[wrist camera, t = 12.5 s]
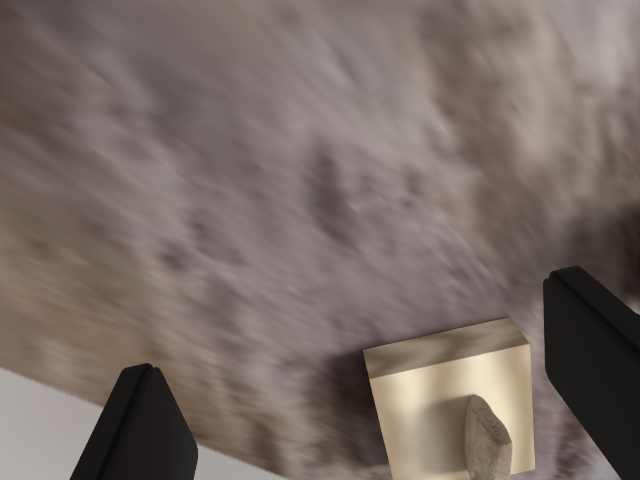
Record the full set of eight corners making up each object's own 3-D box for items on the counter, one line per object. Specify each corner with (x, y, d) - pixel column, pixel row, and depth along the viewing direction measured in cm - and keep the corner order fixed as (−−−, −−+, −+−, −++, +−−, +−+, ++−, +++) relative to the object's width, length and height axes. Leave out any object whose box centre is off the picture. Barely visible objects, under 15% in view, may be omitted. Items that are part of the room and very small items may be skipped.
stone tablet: (523, 537, 42) (534, 441, 37) (482, 544, 41) (487, 449, 36) (494, 479, 47) (500, 388, 42) (457, 486, 47) (459, 395, 42)
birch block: (509, 317, 43) (529, 343, 40) (517, 437, 50) (534, 469, 46) (362, 349, 44) (369, 379, 40) (389, 464, 51) (397, 498, 47)
